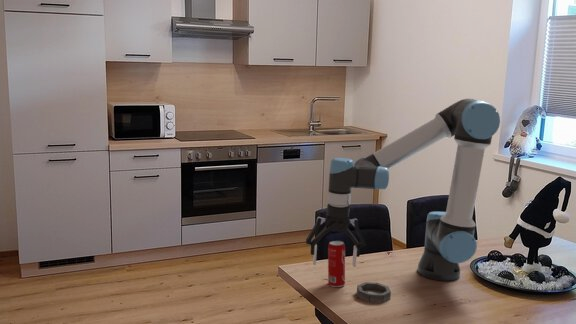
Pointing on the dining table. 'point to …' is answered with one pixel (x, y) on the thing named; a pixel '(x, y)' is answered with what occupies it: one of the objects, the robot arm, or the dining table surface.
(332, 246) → the beverage can
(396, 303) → the dining table surface
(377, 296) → the collar
